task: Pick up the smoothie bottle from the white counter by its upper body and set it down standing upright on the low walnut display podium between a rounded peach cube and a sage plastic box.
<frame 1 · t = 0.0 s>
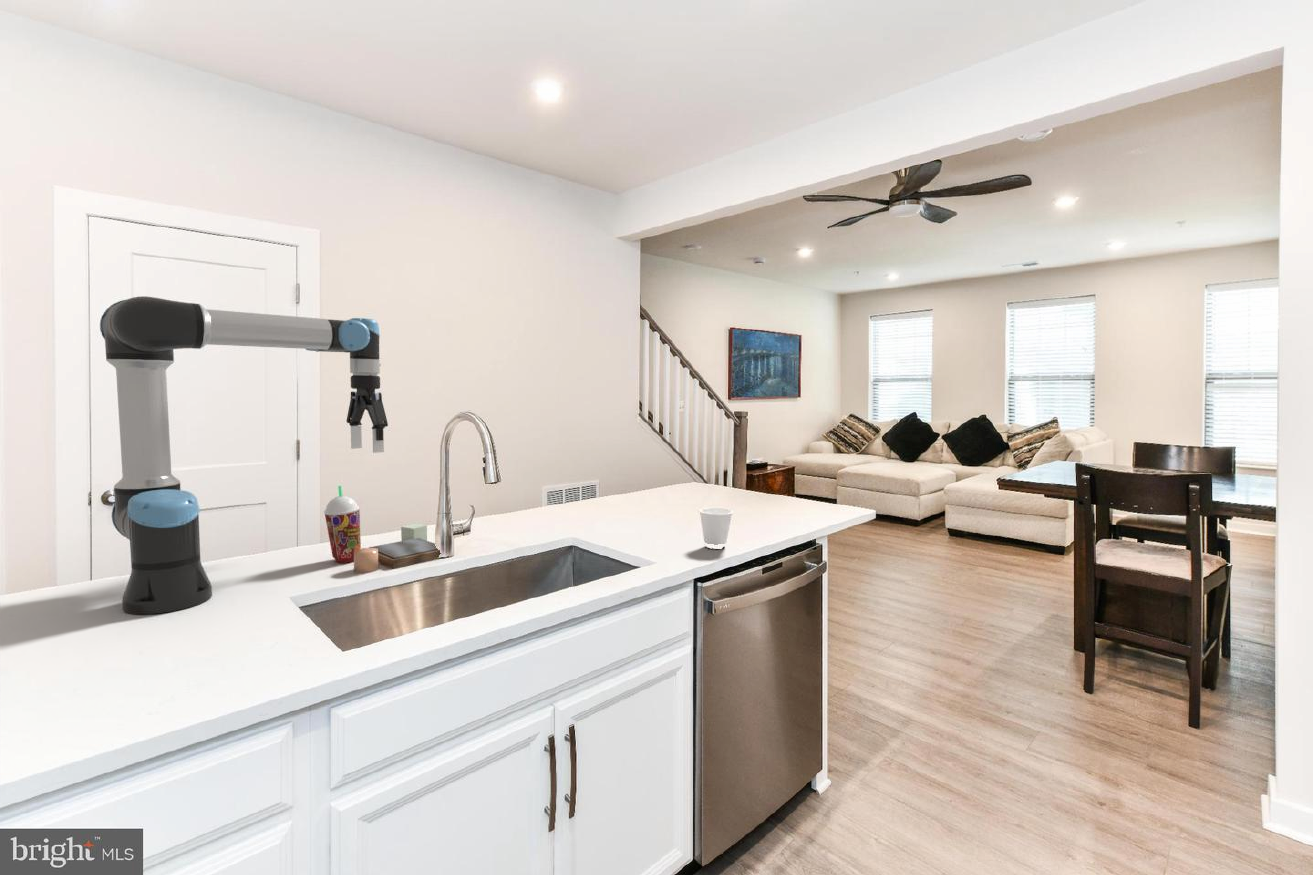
hand: (367, 450, 178), 28 cm above the counter, fingers open, 13 cm apart
sage box: (414, 542, 187), on the counter
smoothie: (347, 559, 168), on the counter
podium: (407, 556, 172), on the counter
cup: (715, 548, 187), on the counter
rounded peach cube: (366, 570, 160), on the counter
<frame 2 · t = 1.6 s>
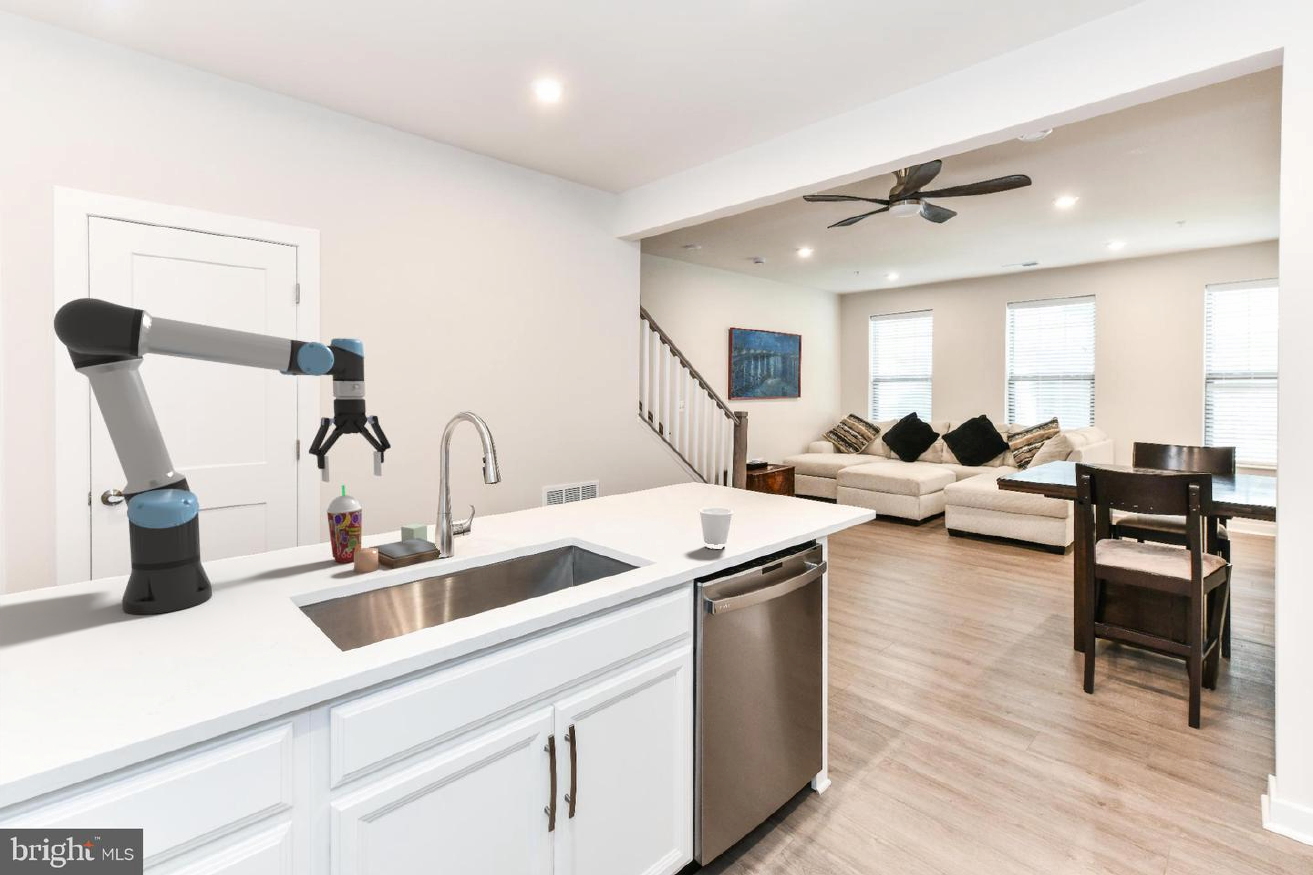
hand: (352, 478, 167), 22 cm above the counter, fingers open, 13 cm apart
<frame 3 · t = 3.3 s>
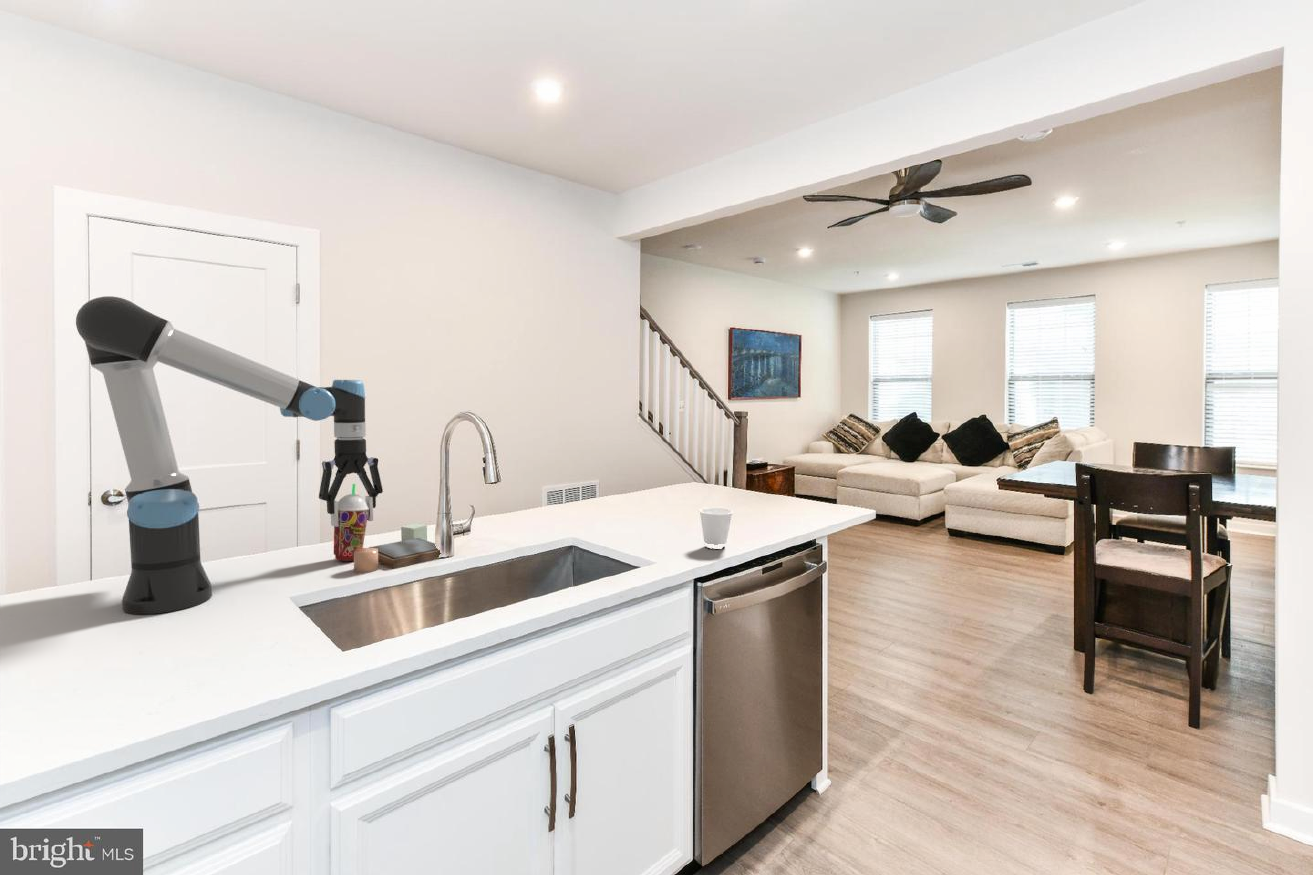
hand: (352, 522, 168), 10 cm above the counter, fingers closed on smoothie, 8 cm apart
smoothie: (347, 559, 168), on the counter, touching gripper
everything else where it was.
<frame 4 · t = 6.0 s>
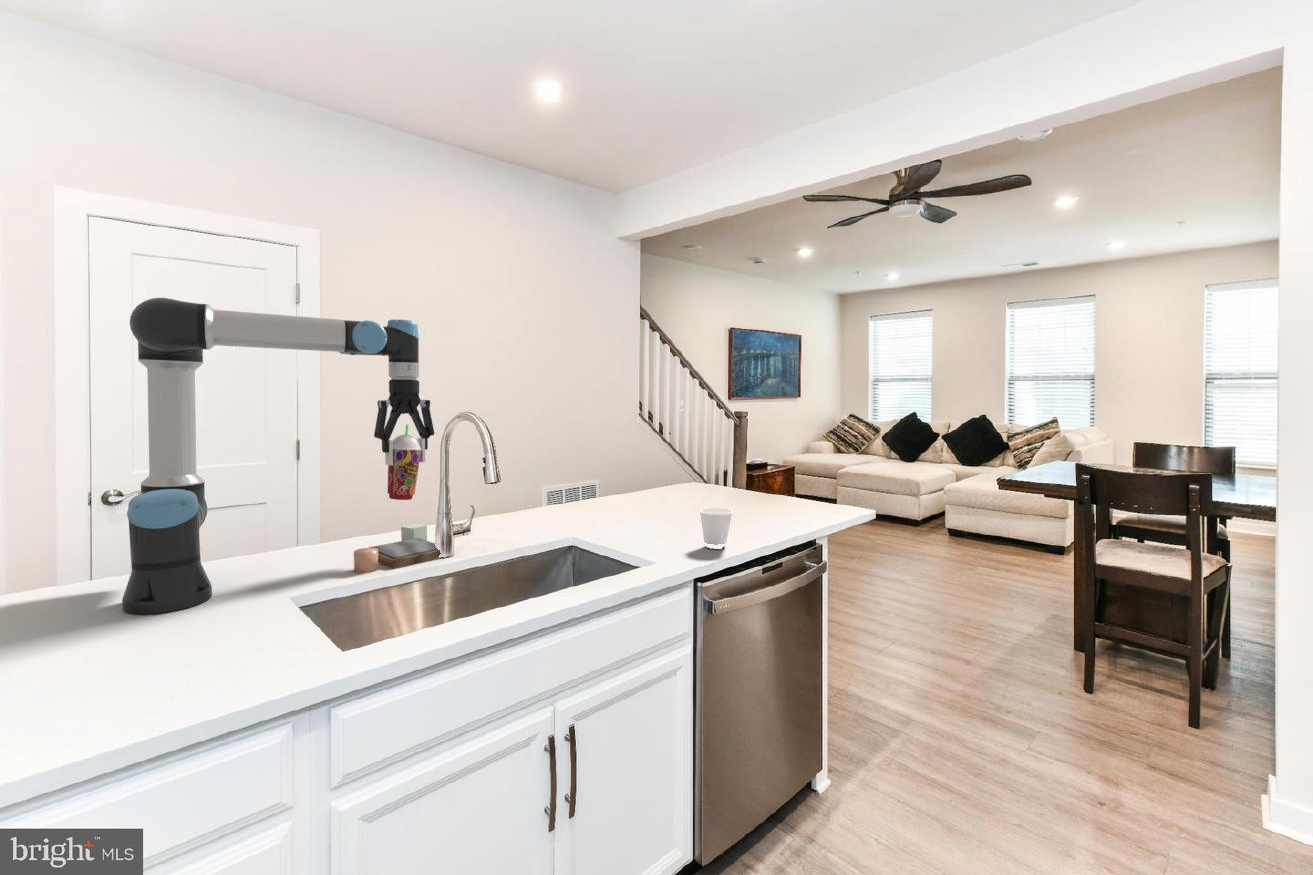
hand: (405, 463, 170), 26 cm above the counter, fingers closed on smoothie, 8 cm apart
smoothie: (400, 499, 169), point 16 cm above the counter, touching gripper
everything else where it was.
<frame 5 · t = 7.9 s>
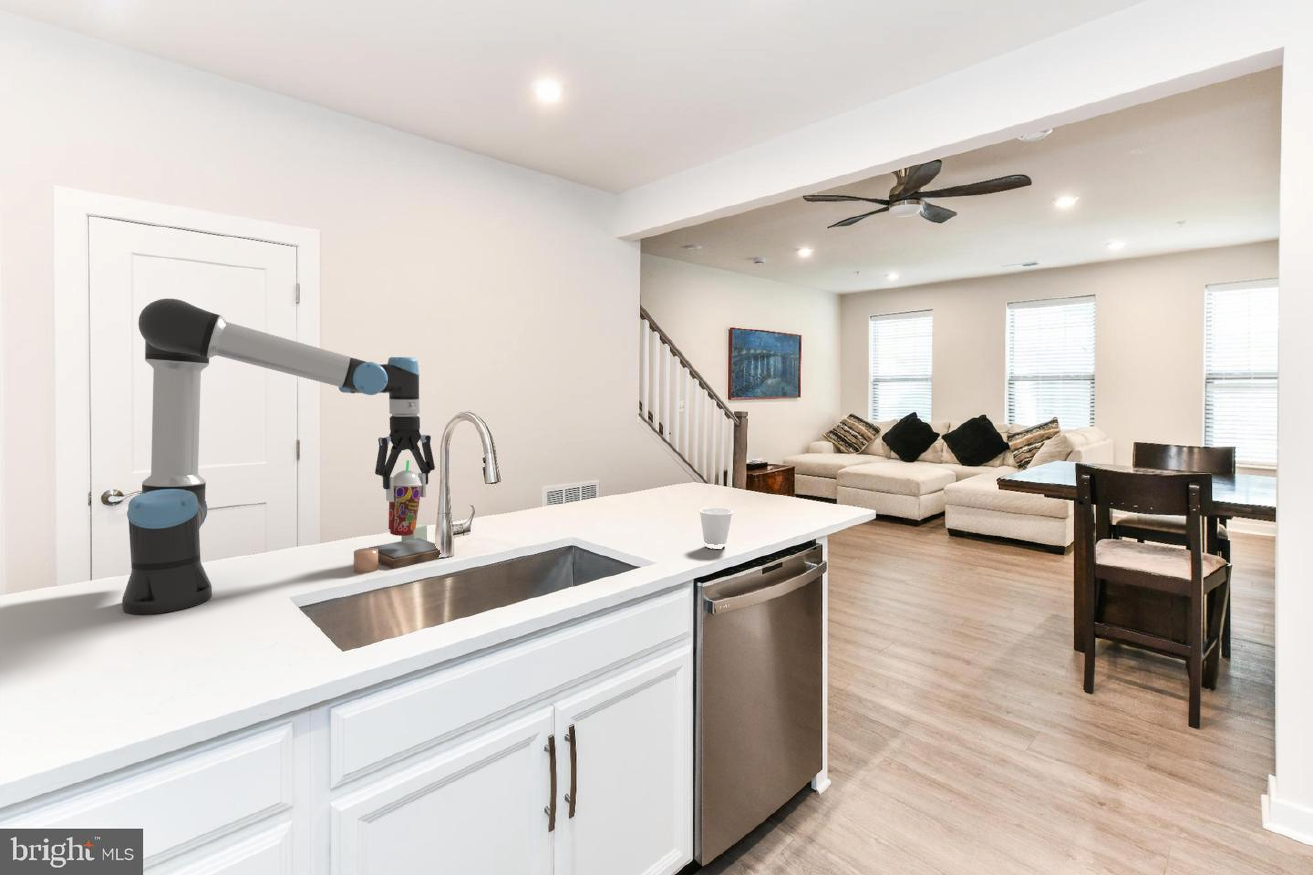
hand: (406, 498, 171), 16 cm above the counter, fingers closed on smoothie, 8 cm apart
smoothie: (401, 534, 170), point 6 cm above the counter, touching gripper
everything else where it was.
when the fingers open (13 cm above the counter, at t = 9.2 s): smoothie drops 1 cm, resting on podium.
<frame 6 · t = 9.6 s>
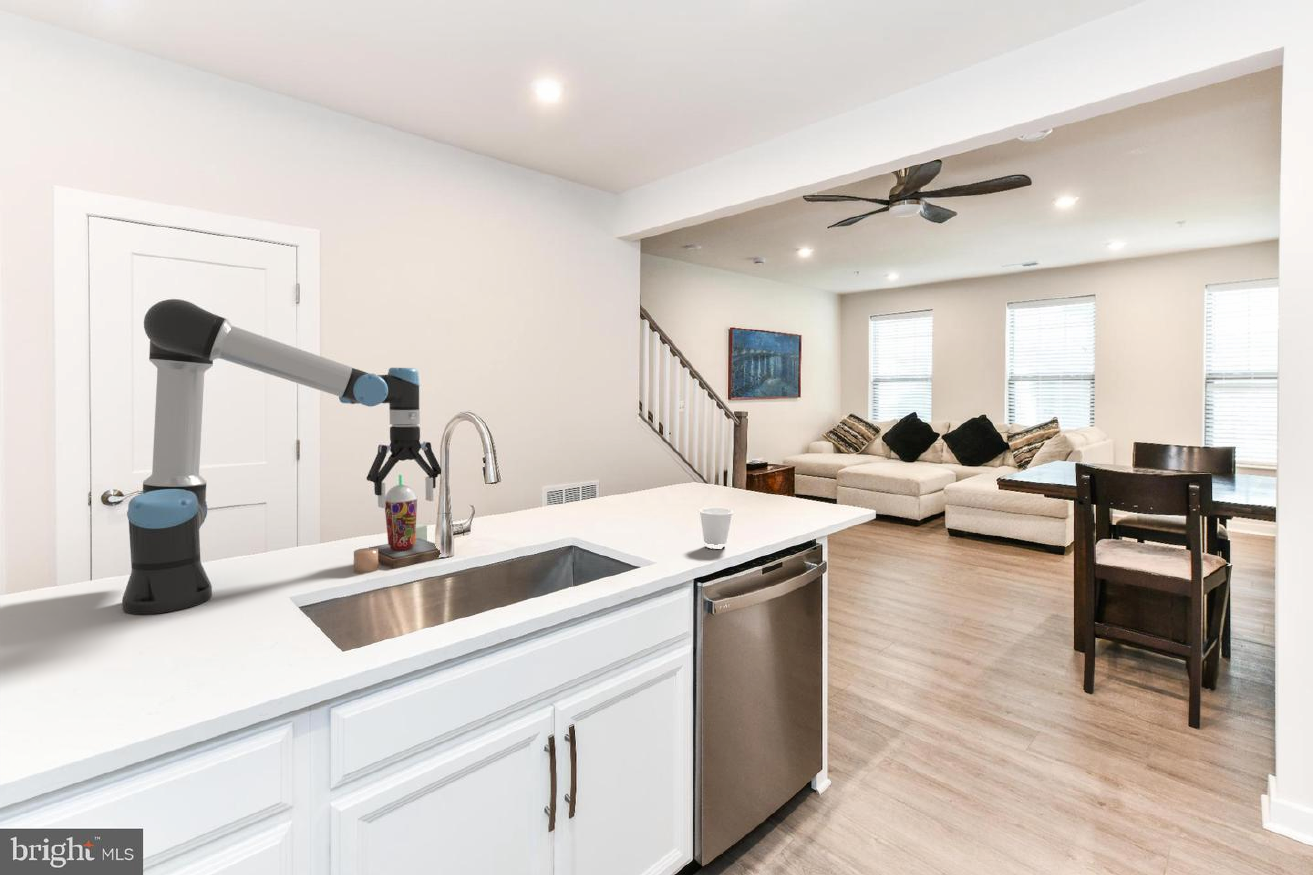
hand: (406, 503, 171), 15 cm above the counter, fingers open, 13 cm apart
smoothie: (402, 548, 171), point 2 cm above the counter, touching podium
everything else where it was.
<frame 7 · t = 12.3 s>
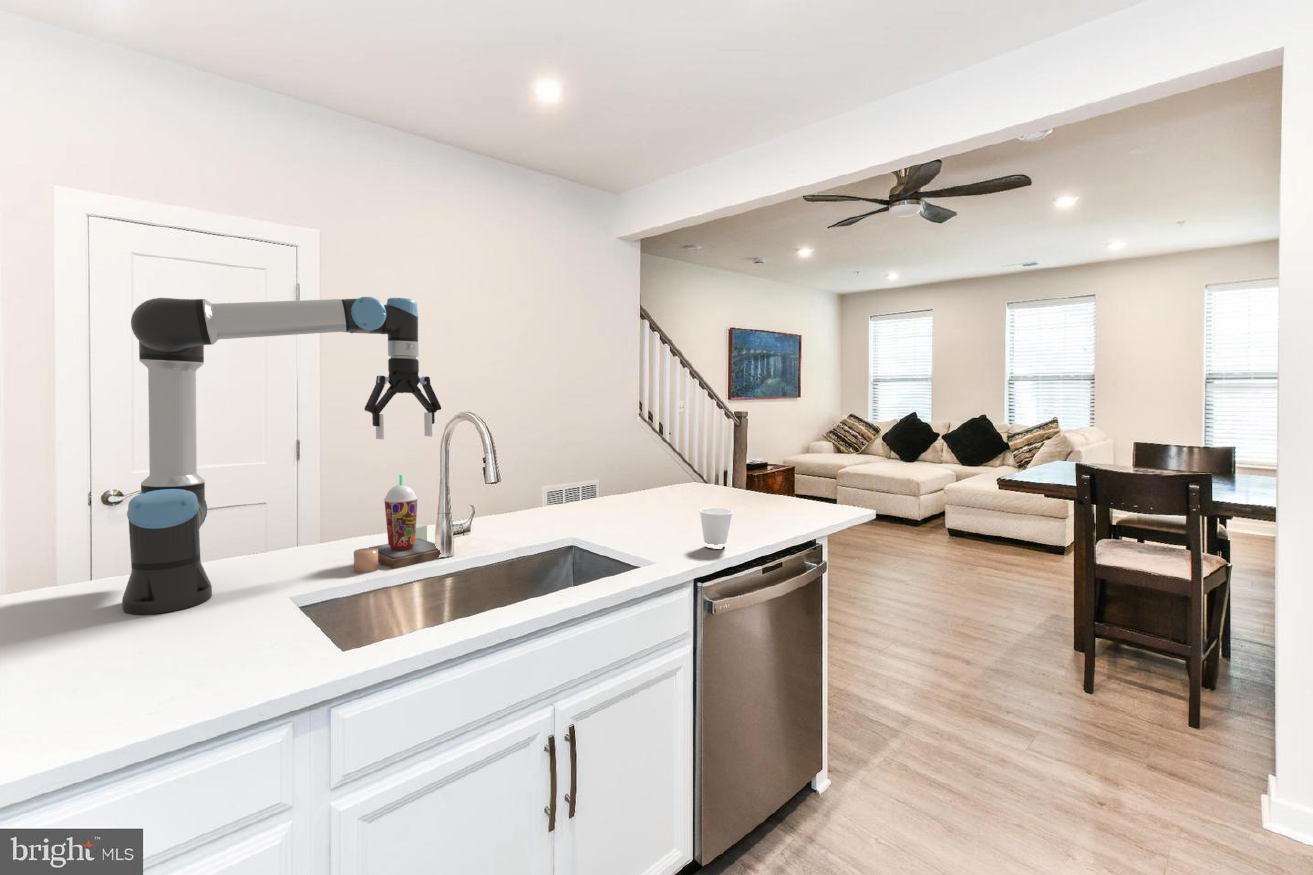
hand: (404, 437, 169), 33 cm above the counter, fingers open, 13 cm apart
nothing on the counter moved.
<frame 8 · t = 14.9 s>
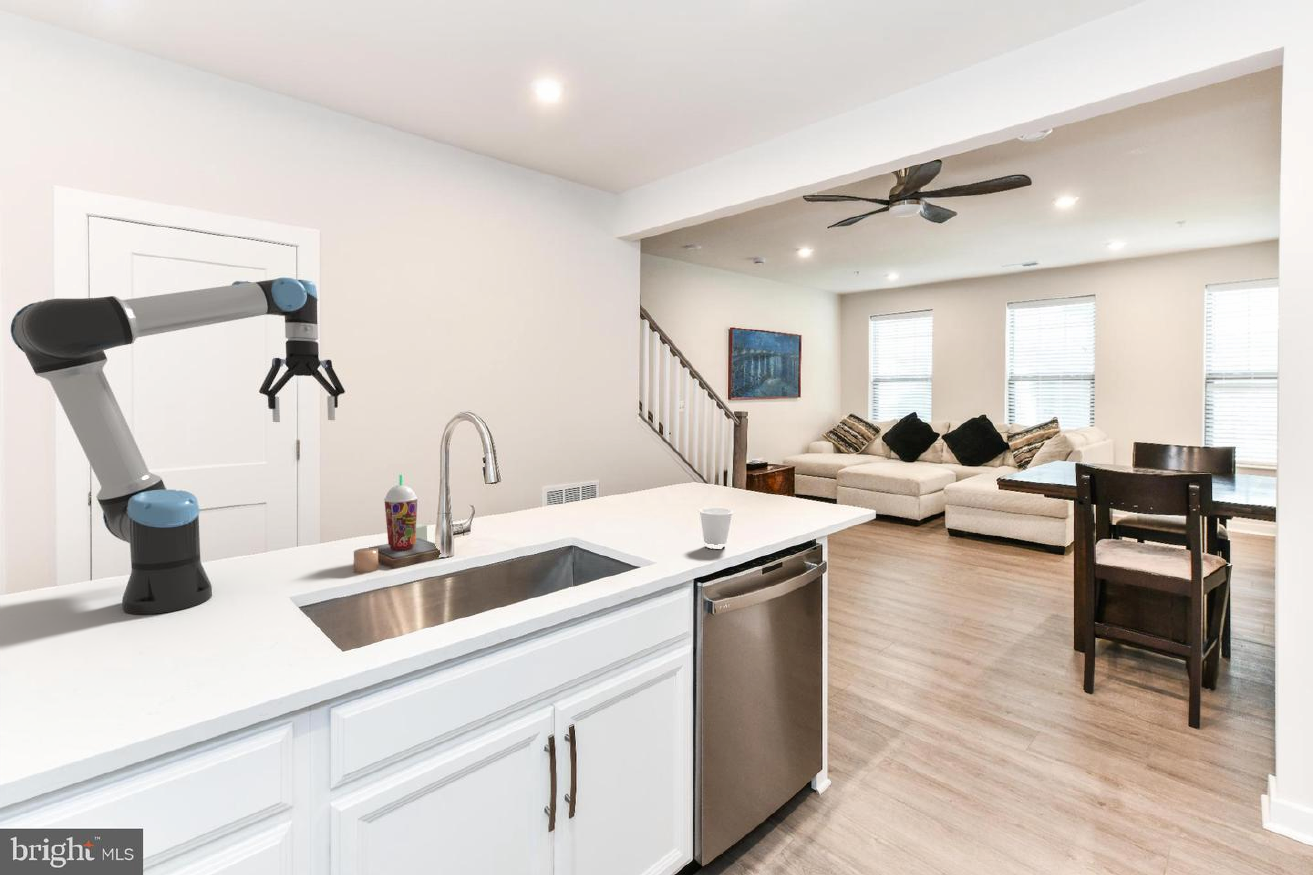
hand: (304, 421, 168), 37 cm above the counter, fingers open, 13 cm apart
nothing on the counter moved.
at the end: smoothie inside the target area on the podium (1.4 cm from its centre), point 2.4 cm above the podium's base; smoothie tilted 0°; smoothie touching podium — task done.
